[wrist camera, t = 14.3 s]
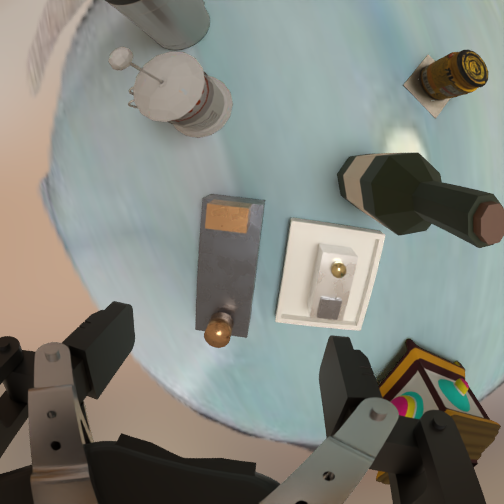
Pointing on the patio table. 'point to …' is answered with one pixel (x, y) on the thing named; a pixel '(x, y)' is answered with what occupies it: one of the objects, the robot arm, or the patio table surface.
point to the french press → (177, 92)
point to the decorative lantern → (437, 398)
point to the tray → (302, 266)
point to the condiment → (446, 79)
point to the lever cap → (331, 282)
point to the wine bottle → (419, 198)
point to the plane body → (227, 266)
